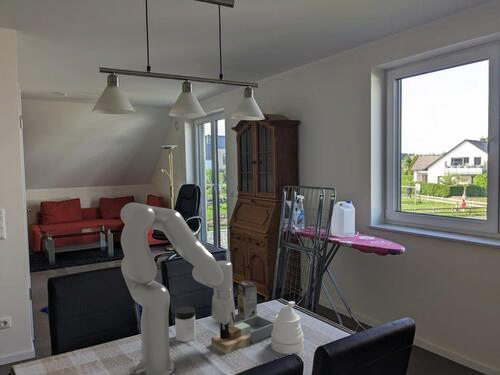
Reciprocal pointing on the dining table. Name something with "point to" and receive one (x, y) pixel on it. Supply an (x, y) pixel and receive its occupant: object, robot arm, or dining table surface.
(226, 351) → the board
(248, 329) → the tile far
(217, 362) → the dining table surface
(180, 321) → the jar
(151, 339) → the robot arm
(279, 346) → the honey pot
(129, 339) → the dining table surface
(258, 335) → the tray
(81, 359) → the dining table surface
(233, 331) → the tile near
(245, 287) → the coffee box
